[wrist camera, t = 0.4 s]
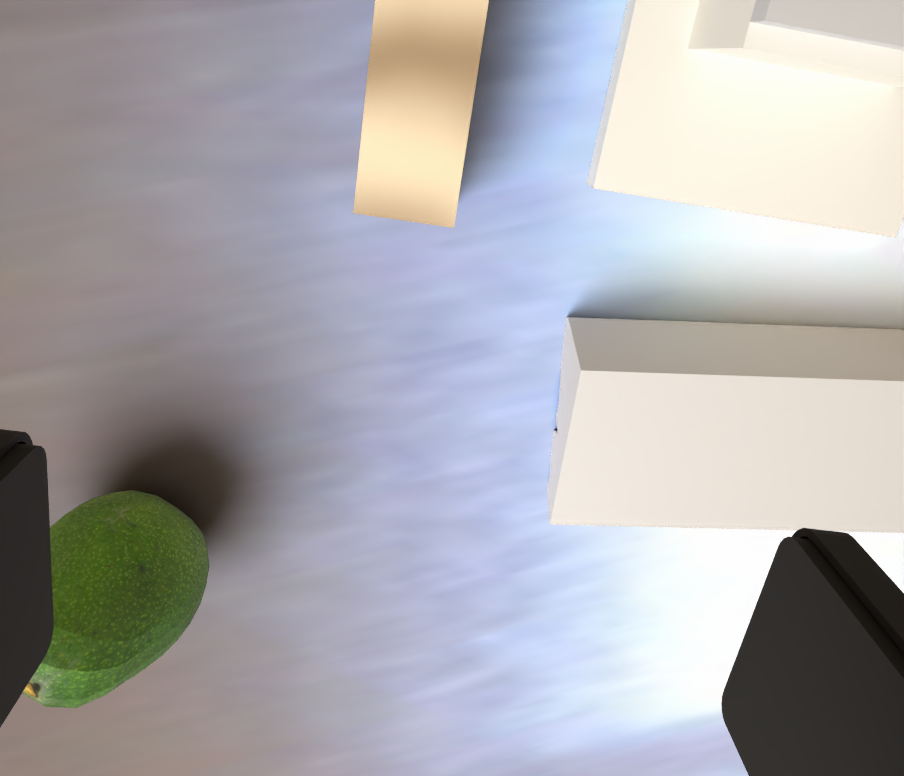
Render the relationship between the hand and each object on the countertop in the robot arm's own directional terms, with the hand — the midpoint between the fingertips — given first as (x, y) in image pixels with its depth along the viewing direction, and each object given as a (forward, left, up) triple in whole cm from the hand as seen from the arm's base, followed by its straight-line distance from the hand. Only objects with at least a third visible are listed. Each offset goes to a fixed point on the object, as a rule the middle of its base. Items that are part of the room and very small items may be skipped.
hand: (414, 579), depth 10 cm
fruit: (+19, -12, -28) cm, 36 cm away
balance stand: (-10, +14, -27) cm, 33 cm away
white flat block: (+8, +25, -28) cm, 39 cm away
